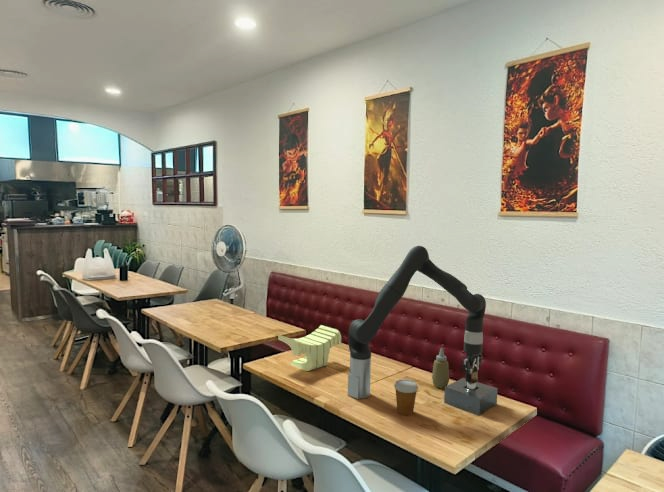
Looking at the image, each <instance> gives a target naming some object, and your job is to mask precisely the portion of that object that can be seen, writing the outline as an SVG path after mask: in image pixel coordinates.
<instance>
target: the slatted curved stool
mask: <svg viewBox="0 0 664 492" xmlns="http://www.w3.org/2000/svg"><path fill="white" fill-rule="evenodd" d="M277 340H279V341H281V342H283V343H285V344H286V345H288V346H289V347H290V350H291V352H292V355H293V356H296V357H300V356H301V355H304V354H305V355H304V357H301V358H297V359H294V360H291V363H290V365H291V366H292V367H295V368H297V369H300V370H303V371H306V372H309V371H312V370H313V371H314V370H316V369H319V368H322V367H325V366H327V365H328V362H329V355H330V351H331V349H332V348H333V347H334V346H337V345H340V346H341V345H342V334H341V332H340V331H339V330H338V329H337V328H332V327H330V326H326V325H322V324H320V325H319V326H318V328H316V329H315V330H314V331H312V332H311V333H309V334H308V335H305V336H303V337H299V338H290V337H288V336H284V335H281V334H278V338H277Z"/></svg>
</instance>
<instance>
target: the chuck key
mask: <svg viewBox="0 0 664 492" xmlns="http://www.w3.org/2000/svg"><path fill="white" fill-rule="evenodd" d="M478 373H479V372H477V371H475V370H473V369H472V373H471V374H472V377H471V382H467V389H470V390H473V391H475V389H476V382H478V378H479V374H478Z"/></svg>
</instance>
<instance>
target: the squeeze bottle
mask: <svg viewBox="0 0 664 492" xmlns="http://www.w3.org/2000/svg"><path fill="white" fill-rule="evenodd" d="M435 358H436V359H435V360H434V361H433V367H432V374H431V379H432V383H433V386H434V387H435V388H438V389H445V387H446V386H448V385H449V382H450V369H449V366H450V365H449V361H448V360H447V356H446V355H445V353H444V348H440V349H439V354H438V355H436V357H435Z"/></svg>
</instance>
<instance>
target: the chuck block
mask: <svg viewBox="0 0 664 492" xmlns="http://www.w3.org/2000/svg"><path fill="white" fill-rule="evenodd" d="M498 391H499V390H498V387H495V386H492V385H489V384H486V383H485V384H484V383H482V382H478V381H477V382H476V389H475V391H473V390H470V389H467V381H466V377H462V378H460V379H458V380H456V381H454V382H451V383H450V384H448V385H447V386H446V387H445V388H444V400H443V403H444V404H446V405H449V406H452V407H455V408H458V409H460V410H463V411H465V412H469V413H472V414H474V415H477V416H481V415H482V414H484V413H485V412H487V411H488V410H490V409H492V408H493V407H494V406H496V405H497V404H498Z"/></svg>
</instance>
